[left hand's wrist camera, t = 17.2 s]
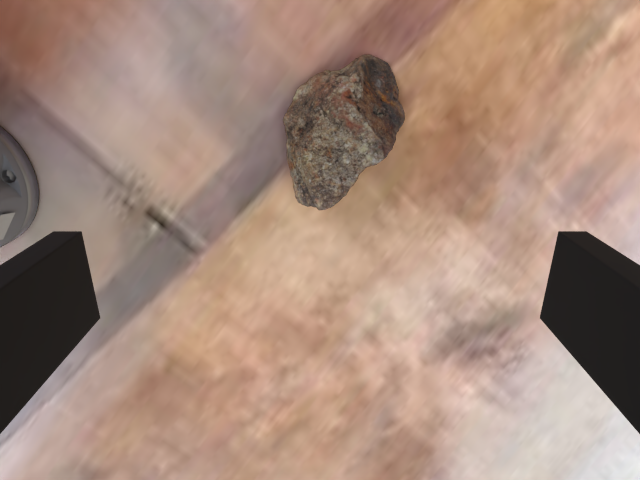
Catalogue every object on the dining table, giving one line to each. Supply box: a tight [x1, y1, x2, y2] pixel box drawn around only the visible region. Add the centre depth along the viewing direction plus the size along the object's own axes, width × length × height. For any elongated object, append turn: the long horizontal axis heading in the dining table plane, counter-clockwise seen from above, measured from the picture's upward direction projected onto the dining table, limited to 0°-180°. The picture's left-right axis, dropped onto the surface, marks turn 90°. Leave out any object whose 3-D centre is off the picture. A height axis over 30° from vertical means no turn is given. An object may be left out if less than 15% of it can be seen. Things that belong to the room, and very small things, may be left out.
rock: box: [283, 55, 405, 210], centre depth 41 cm, size 14×9×10 cm
